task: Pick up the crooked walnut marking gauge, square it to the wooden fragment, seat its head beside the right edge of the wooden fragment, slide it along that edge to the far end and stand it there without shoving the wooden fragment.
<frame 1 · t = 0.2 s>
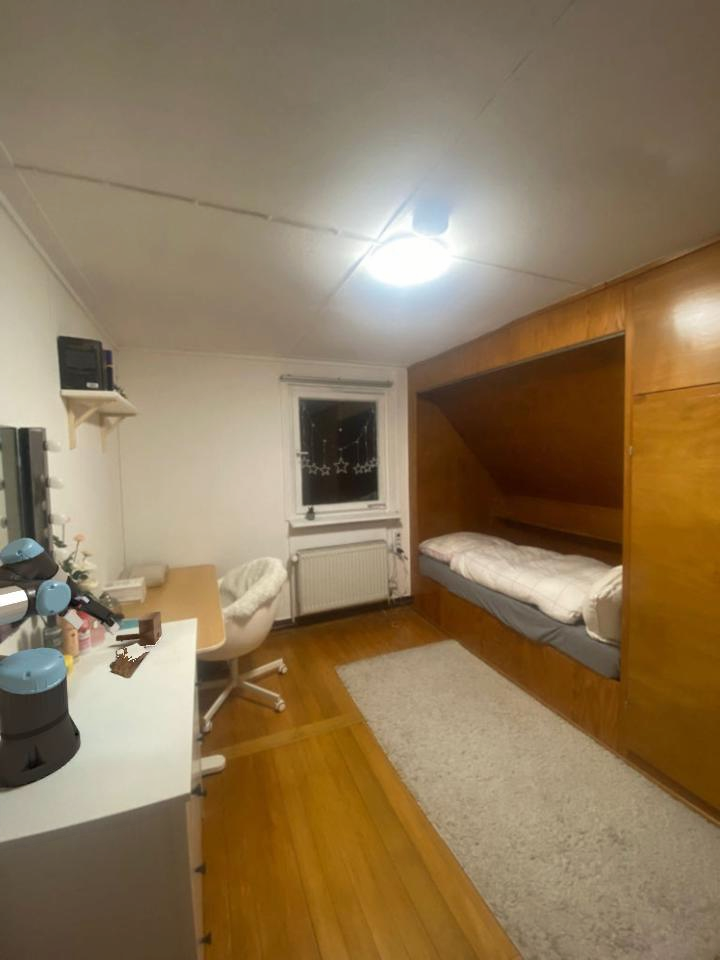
hand: (97, 628, 116), 16 cm above the table, tool tilted 35°, fingers open, 13 cm apart
wooden fragment: (130, 661, 129), on the table
marking gauge: (151, 642, 141), on the table
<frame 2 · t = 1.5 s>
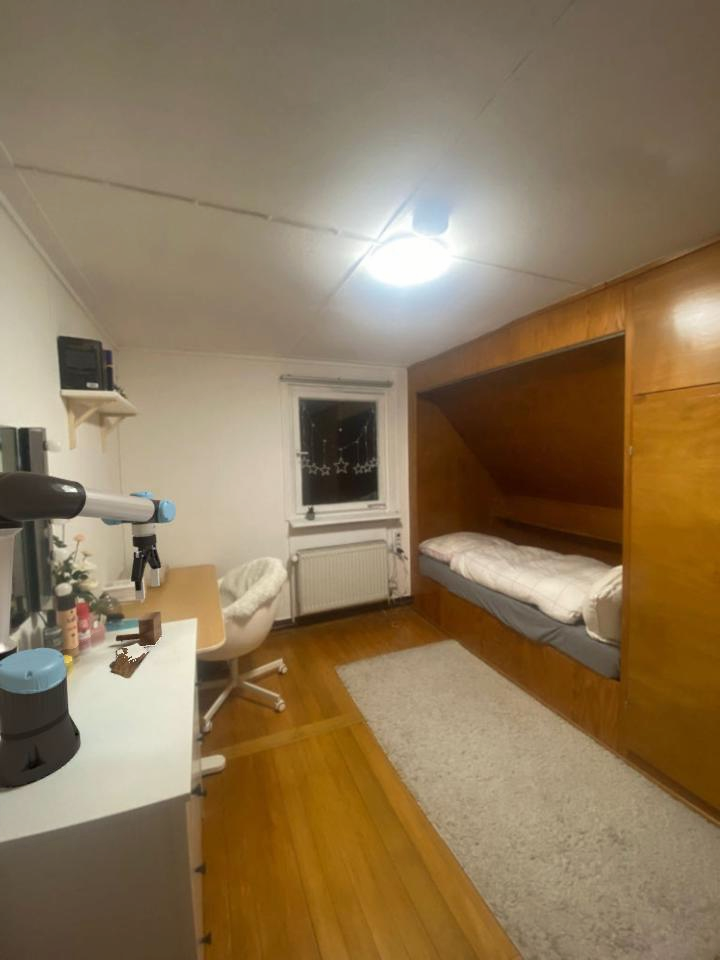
hand: (148, 592, 140), 19 cm above the table, tool pointing down, fingers open, 13 cm apart
nothing on the table moved.
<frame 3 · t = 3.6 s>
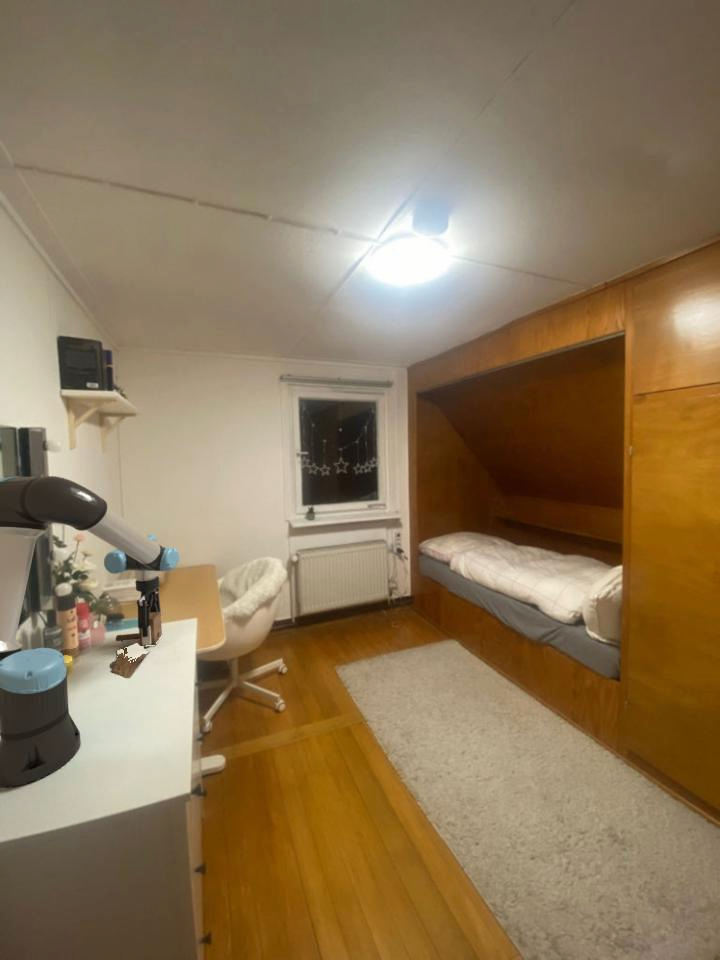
hand: (151, 639, 141), 1 cm above the table, tool pointing down, fingers closed on marking gauge, 7 cm apart
marking gauge: (151, 642, 141), on the table, touching gripper
everything else where it was.
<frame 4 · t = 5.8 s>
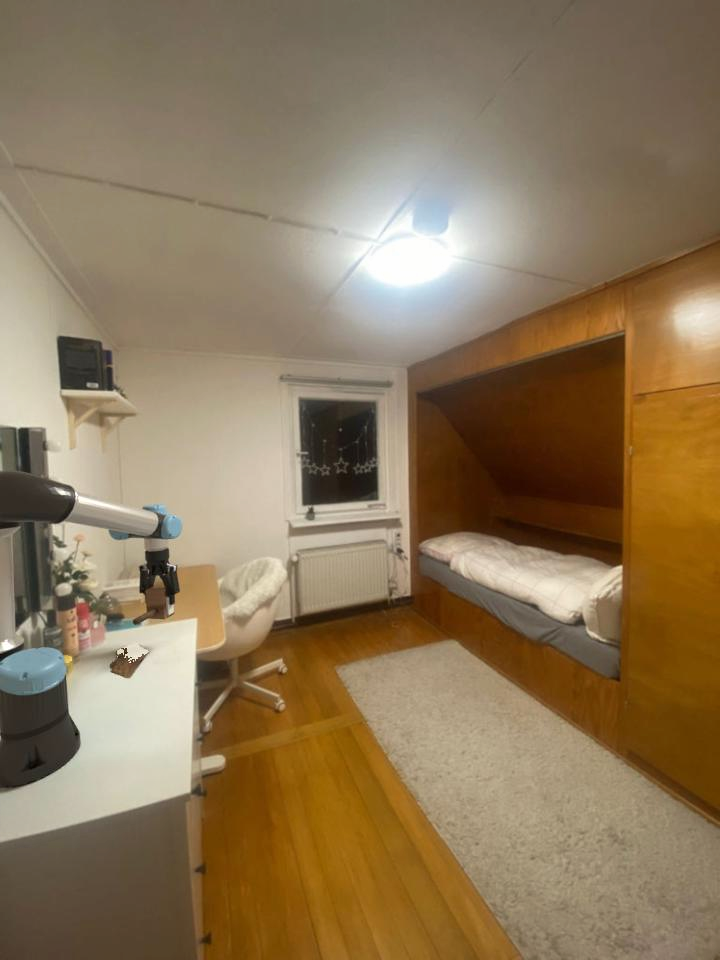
hand: (160, 612, 135), 13 cm above the table, tool pointing down, fingers closed on marking gauge, 7 cm apart
marking gauge: (161, 616, 136), point 12 cm above the table, touching gripper
everything else where it was.
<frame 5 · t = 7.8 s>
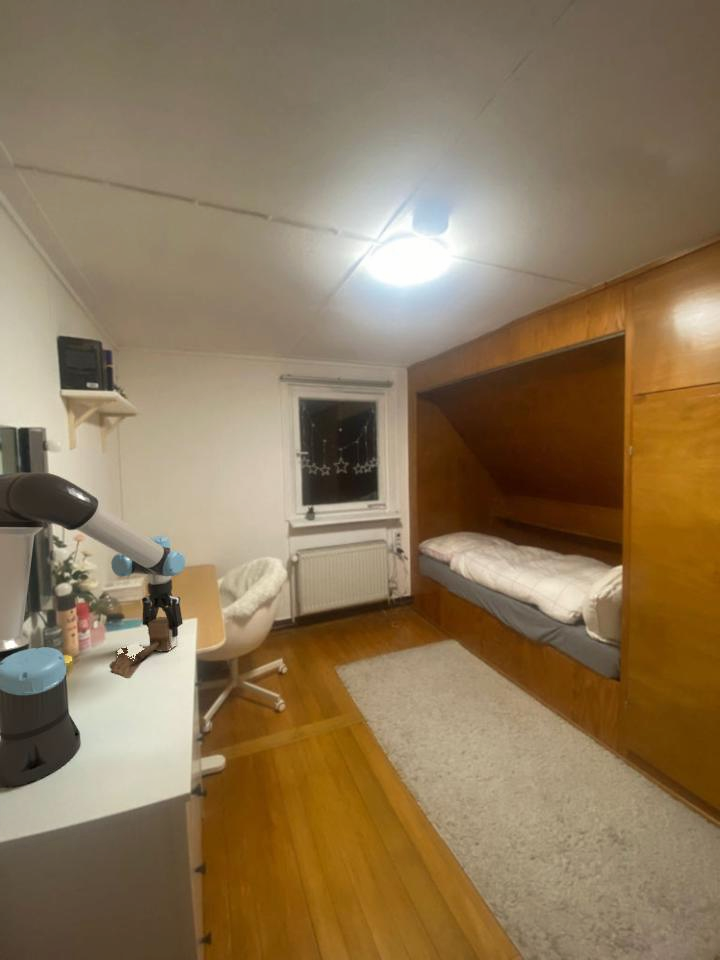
hand: (163, 644, 136), 1 cm above the table, tool pointing down, fingers closed on marking gauge, 7 cm apart
marking gauge: (164, 647, 136), on the table, touching gripper
everything else where it was.
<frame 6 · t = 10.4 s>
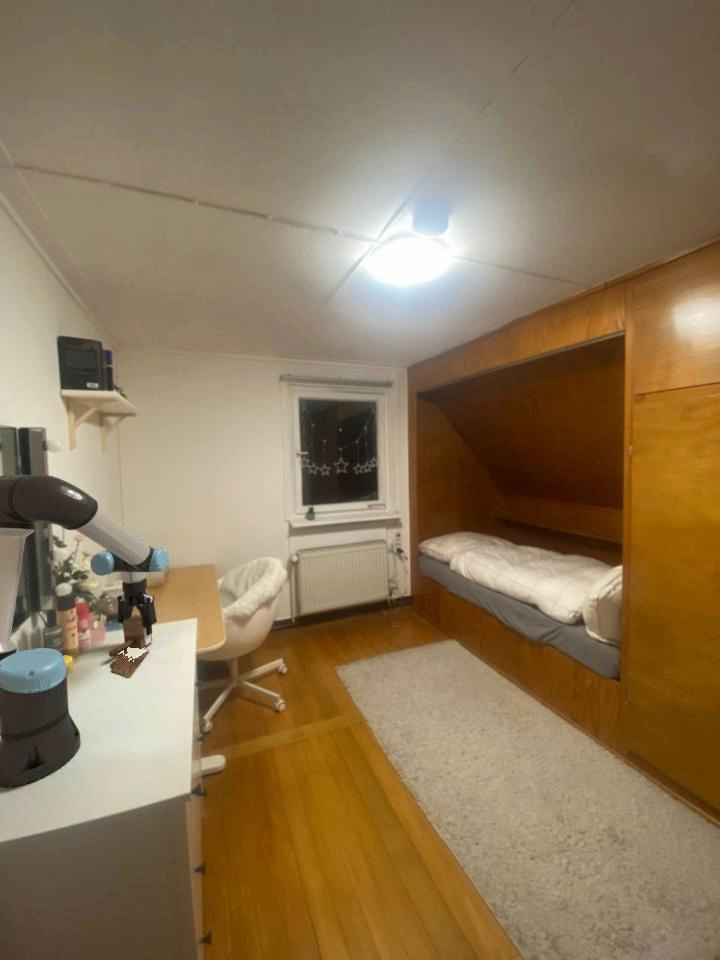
hand: (138, 642, 138), 1 cm above the table, tool pointing down, fingers closed on marking gauge, 7 cm apart
marking gauge: (138, 645, 138), on the table, touching gripper
everything else where it was.
when the fingers open (1 cm above the table, at t = 12.2 s): marking gauge stays where it is, on the table.
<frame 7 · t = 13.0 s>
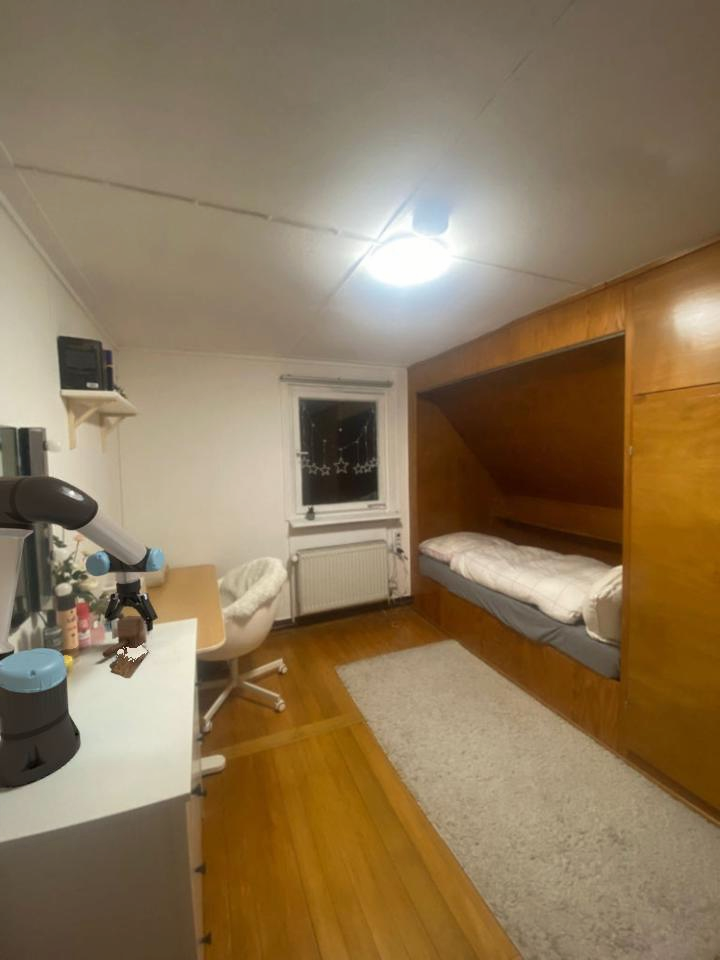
hand: (132, 638, 139), 3 cm above the table, tool pointing down, fingers open, 13 cm apart
marking gauge: (132, 645, 139), on the table
everything else where it was.
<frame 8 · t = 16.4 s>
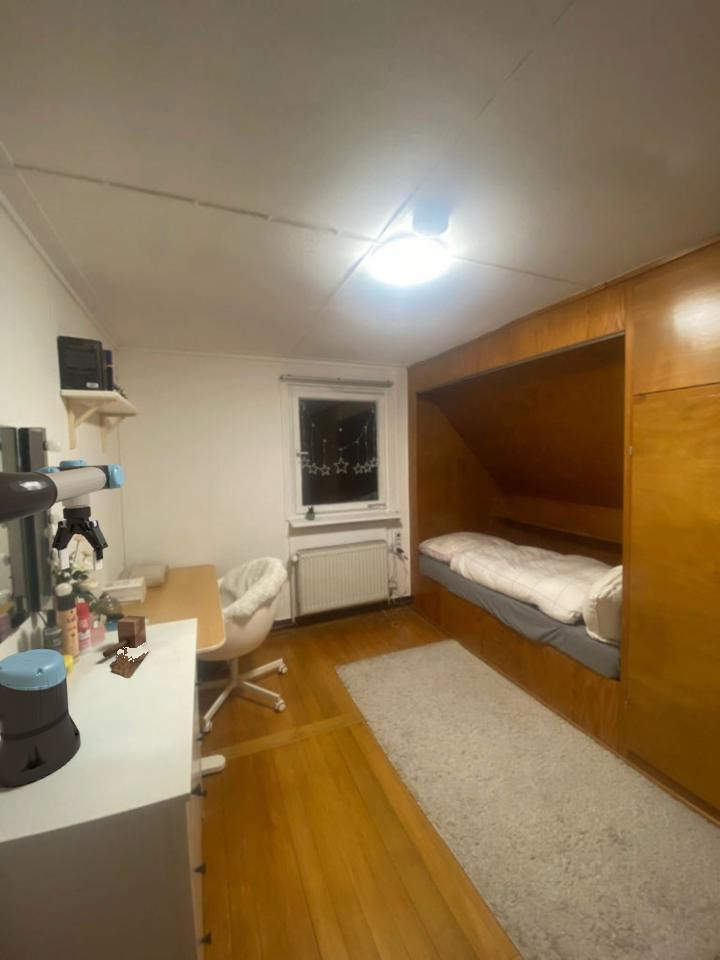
hand: (81, 569, 130), 31 cm above the table, tool pointing down, fingers open, 13 cm apart
nothing on the table moved.
at the end: marking gauge 0.3 cm from the target spot, on the table; marking gauge tilted 0°; wooden fragment moved 0.5 cm from its start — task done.
